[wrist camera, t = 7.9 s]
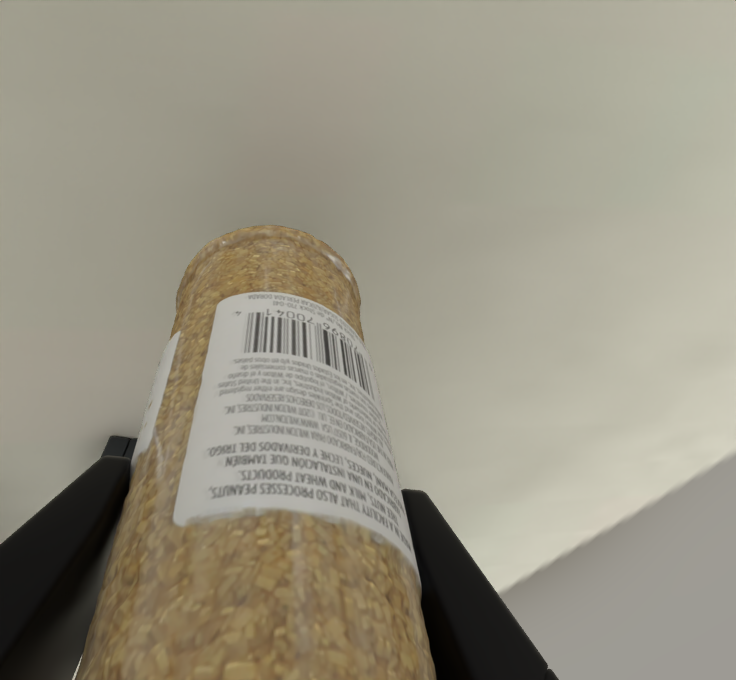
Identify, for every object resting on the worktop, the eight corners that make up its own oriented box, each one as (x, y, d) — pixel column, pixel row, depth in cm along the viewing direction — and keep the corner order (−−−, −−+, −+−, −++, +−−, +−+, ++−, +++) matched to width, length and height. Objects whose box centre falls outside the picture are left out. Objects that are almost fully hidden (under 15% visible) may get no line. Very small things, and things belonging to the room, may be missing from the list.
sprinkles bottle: (142, 306, 14) (-326, 1495, 3) (264, 177, 13) (160, 1499, 2) (280, 401, 17) (274, 1311, 6) (399, 299, 15) (708, 1246, 4)
